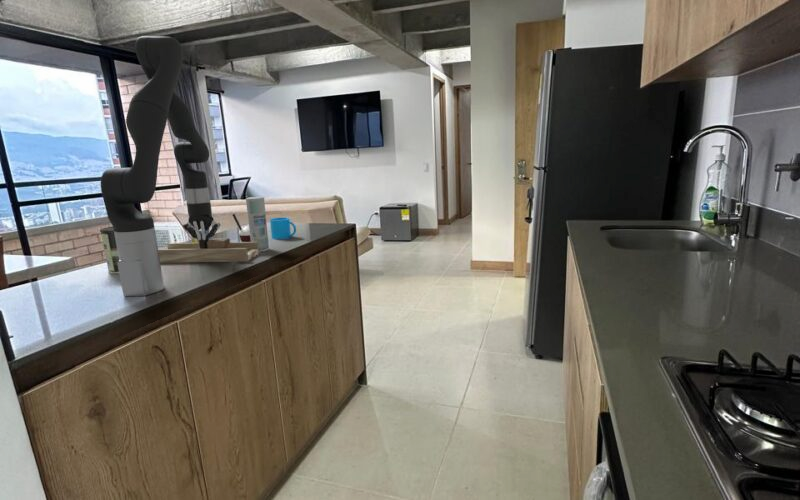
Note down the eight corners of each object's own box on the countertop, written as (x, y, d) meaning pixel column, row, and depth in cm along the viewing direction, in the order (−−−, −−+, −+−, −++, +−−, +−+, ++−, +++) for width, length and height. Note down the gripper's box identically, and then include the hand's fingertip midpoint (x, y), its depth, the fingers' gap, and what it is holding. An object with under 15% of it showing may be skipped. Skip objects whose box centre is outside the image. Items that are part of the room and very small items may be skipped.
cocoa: (261, 242, 177) (259, 214, 175) (250, 245, 171) (249, 215, 169) (242, 240, 180) (241, 212, 178) (232, 242, 175) (230, 214, 172)
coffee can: (152, 265, 142) (145, 224, 139) (127, 274, 133) (119, 230, 129) (126, 265, 145) (119, 224, 141) (100, 273, 135) (91, 230, 131)
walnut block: (224, 253, 148) (222, 241, 147) (208, 254, 148) (207, 241, 147) (230, 250, 153) (229, 238, 152) (216, 250, 153) (214, 238, 152)
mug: (267, 238, 182) (265, 220, 180) (279, 235, 190) (277, 217, 188) (291, 240, 178) (289, 221, 176) (302, 236, 186) (300, 218, 184)
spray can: (255, 252, 157) (249, 199, 152) (249, 250, 162) (243, 197, 157) (272, 250, 161) (266, 197, 156) (265, 247, 166) (260, 196, 161)
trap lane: (247, 261, 145) (245, 248, 144) (152, 262, 147) (149, 250, 146) (259, 253, 155) (258, 241, 154) (170, 255, 157) (168, 243, 156)
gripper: (173, 202, 143) (181, 252, 147) (211, 202, 142) (218, 251, 146) (185, 200, 150) (192, 247, 154) (221, 199, 150) (227, 247, 154)
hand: (205, 249), depth 150 cm, fingers closed
